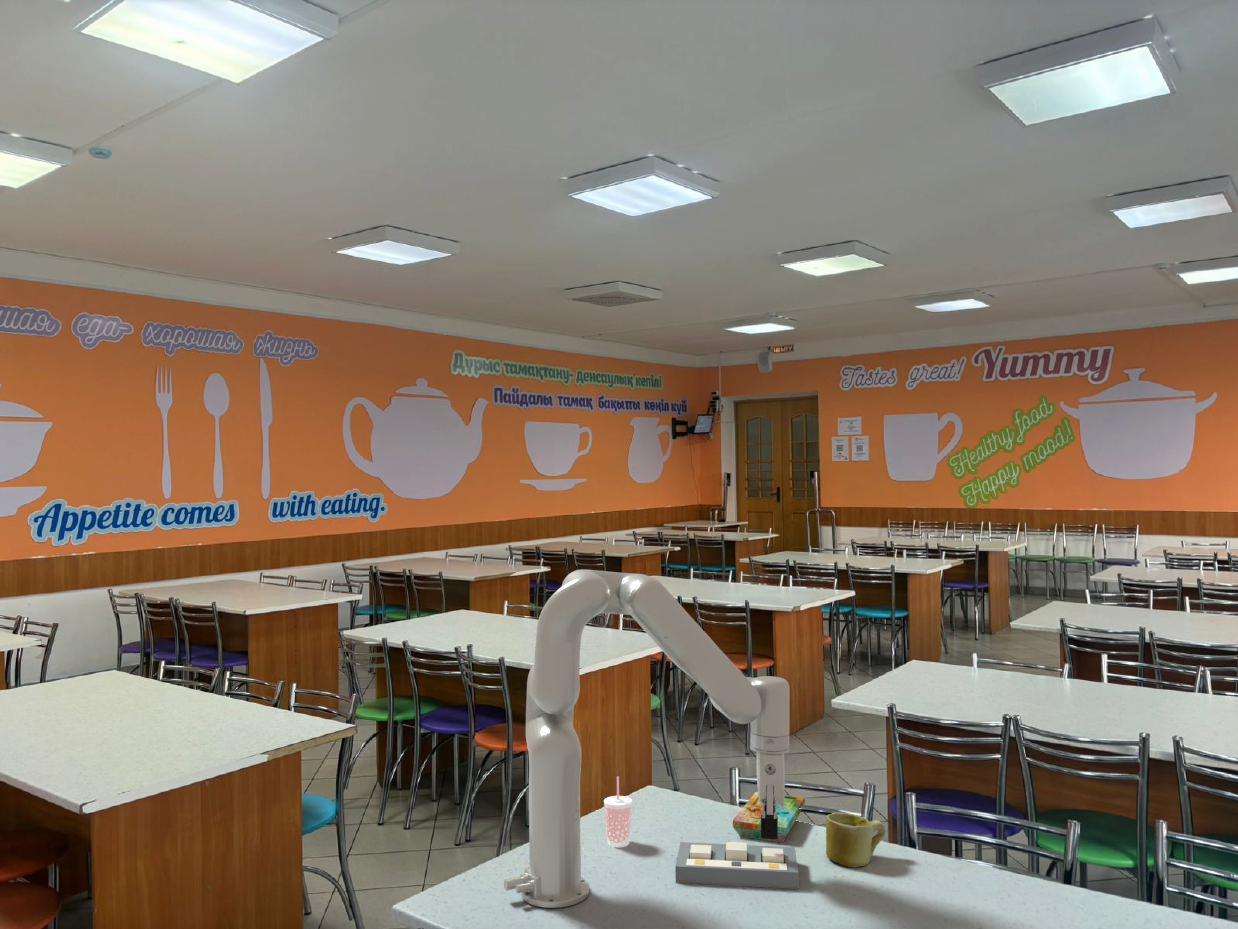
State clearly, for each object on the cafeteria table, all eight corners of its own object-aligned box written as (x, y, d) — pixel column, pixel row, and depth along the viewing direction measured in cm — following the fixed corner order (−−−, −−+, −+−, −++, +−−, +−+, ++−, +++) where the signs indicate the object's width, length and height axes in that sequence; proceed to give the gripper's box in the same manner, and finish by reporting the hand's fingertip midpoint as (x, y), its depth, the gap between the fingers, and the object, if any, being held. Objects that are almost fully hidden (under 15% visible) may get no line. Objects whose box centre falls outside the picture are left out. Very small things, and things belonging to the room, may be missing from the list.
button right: (783, 873, 167) (783, 857, 167) (762, 871, 167) (762, 856, 167) (783, 864, 171) (782, 848, 171) (762, 863, 171) (762, 847, 171)
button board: (798, 889, 162) (798, 871, 162) (675, 882, 166) (675, 864, 166) (795, 862, 174) (794, 846, 174) (680, 857, 177) (680, 840, 178)
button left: (710, 869, 169) (710, 853, 169) (690, 868, 169) (689, 852, 169) (711, 861, 173) (711, 845, 173) (691, 860, 173) (691, 844, 173)
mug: (828, 863, 169) (833, 809, 172) (816, 859, 179) (821, 808, 182) (891, 876, 168) (895, 821, 172) (875, 871, 178) (879, 819, 182)
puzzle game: (732, 816, 188) (755, 788, 206) (733, 838, 188) (755, 808, 206) (786, 823, 183) (804, 794, 202) (786, 846, 183) (805, 814, 202)
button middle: (747, 866, 168) (746, 850, 168) (726, 865, 168) (725, 849, 168) (747, 858, 172) (746, 842, 172) (726, 857, 172) (726, 841, 172)
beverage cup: (611, 836, 189) (611, 770, 190) (637, 840, 187) (636, 774, 187) (599, 846, 184) (598, 779, 184) (625, 851, 181) (624, 782, 182)
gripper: (791, 753, 162) (790, 854, 161) (787, 733, 177) (787, 825, 176) (750, 751, 163) (749, 851, 162) (750, 731, 178) (749, 822, 177)
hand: (769, 837), depth 169 cm, fingers closed
